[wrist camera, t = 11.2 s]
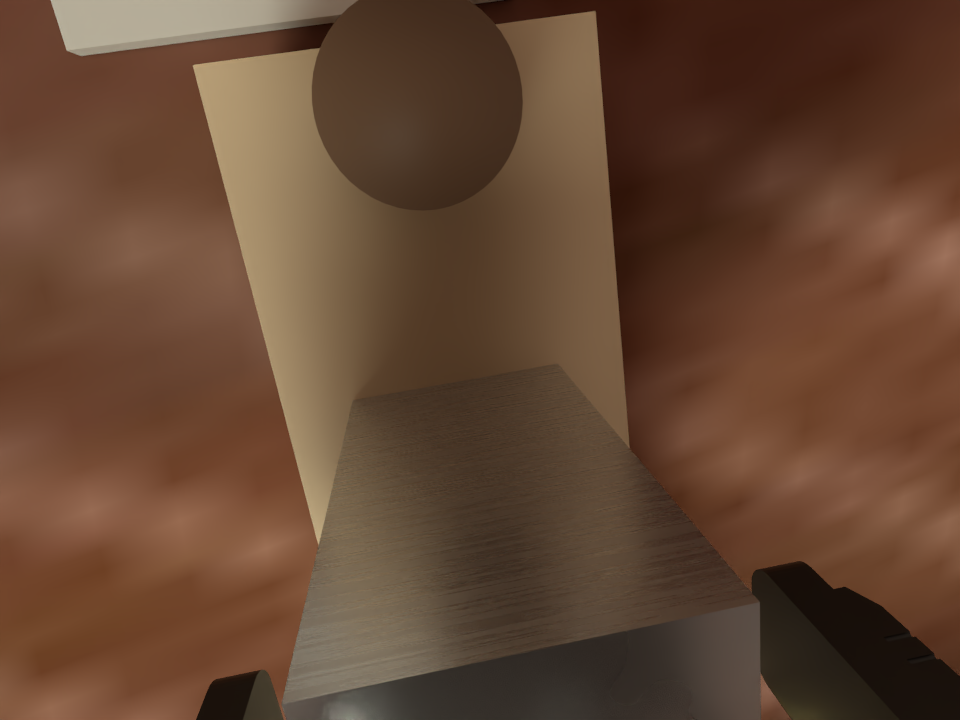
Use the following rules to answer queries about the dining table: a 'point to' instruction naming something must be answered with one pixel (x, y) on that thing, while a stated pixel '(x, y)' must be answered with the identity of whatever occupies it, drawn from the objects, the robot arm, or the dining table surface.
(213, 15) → the mat
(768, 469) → the dining table surface
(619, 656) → the grey rectangular block
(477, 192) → the plane body
